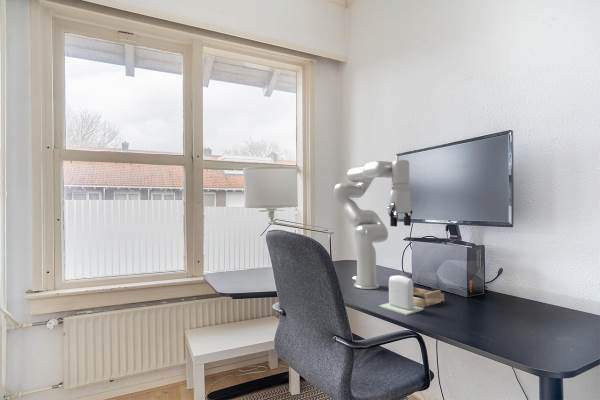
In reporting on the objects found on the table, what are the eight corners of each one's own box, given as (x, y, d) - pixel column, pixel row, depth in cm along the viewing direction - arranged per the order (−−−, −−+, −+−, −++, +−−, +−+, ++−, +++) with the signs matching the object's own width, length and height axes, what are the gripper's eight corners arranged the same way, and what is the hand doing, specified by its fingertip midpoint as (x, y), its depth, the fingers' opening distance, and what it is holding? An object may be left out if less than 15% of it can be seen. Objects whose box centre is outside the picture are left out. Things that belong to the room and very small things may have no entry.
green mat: (379, 306, 137) (379, 305, 137) (396, 302, 143) (396, 300, 143) (406, 315, 126) (406, 313, 126) (423, 309, 133) (423, 308, 133)
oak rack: (392, 298, 148) (392, 287, 148) (413, 293, 157) (413, 282, 157) (423, 307, 136) (423, 295, 136) (444, 301, 145) (444, 289, 145)
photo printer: (387, 304, 137) (387, 274, 138) (393, 302, 140) (393, 273, 140) (408, 310, 129) (408, 278, 130) (415, 308, 132) (415, 277, 132)
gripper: (405, 188, 158) (405, 224, 158) (381, 187, 148) (381, 226, 147) (419, 188, 152) (419, 225, 152) (395, 186, 142) (395, 227, 141)
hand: (400, 225), depth 149 cm, fingers open, 9 cm apart
